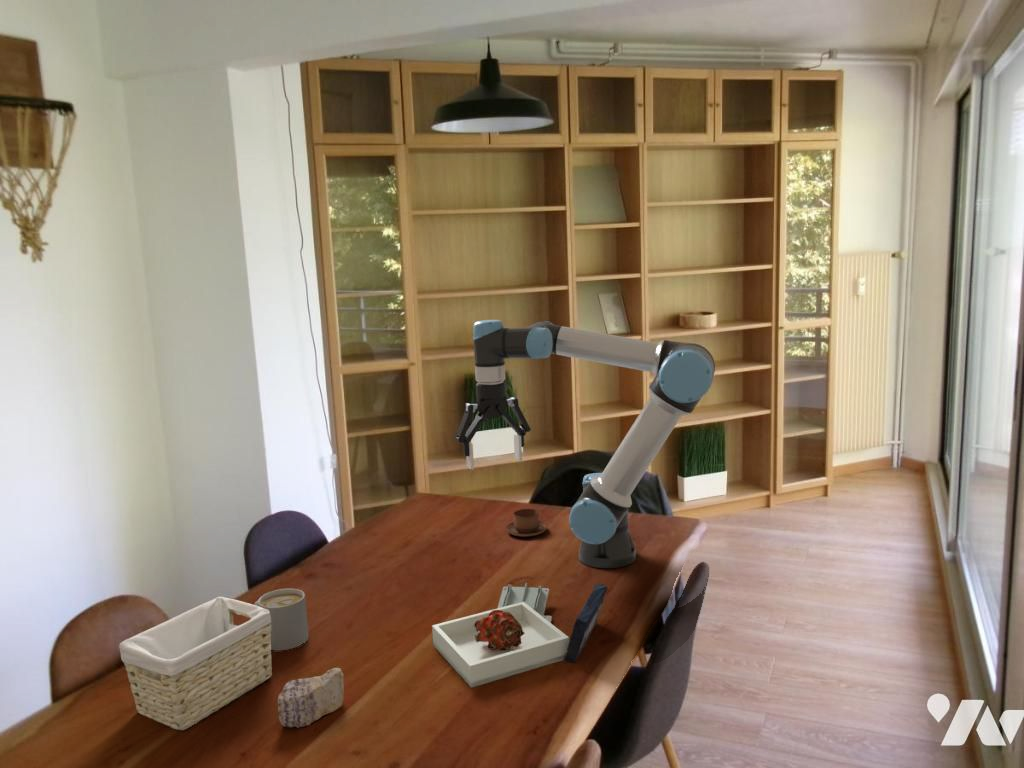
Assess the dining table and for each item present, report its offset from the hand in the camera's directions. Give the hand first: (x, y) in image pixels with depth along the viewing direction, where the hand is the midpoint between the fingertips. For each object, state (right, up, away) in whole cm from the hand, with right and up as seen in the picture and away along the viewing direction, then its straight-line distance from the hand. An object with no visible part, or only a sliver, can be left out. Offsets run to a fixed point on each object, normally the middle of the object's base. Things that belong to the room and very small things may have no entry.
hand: (494, 464), depth 210 cm
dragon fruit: (+2, -35, -38) cm, 52 cm away
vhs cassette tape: (+19, -35, -35) cm, 53 cm away
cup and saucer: (+9, -24, +32) cm, 41 cm away
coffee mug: (-47, -36, -28) cm, 65 cm away
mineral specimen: (-33, -41, -58) cm, 78 cm away
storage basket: (-55, -40, -50) cm, 85 cm away
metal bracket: (+7, -33, -20) cm, 39 cm away
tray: (+2, -36, -38) cm, 52 cm away
